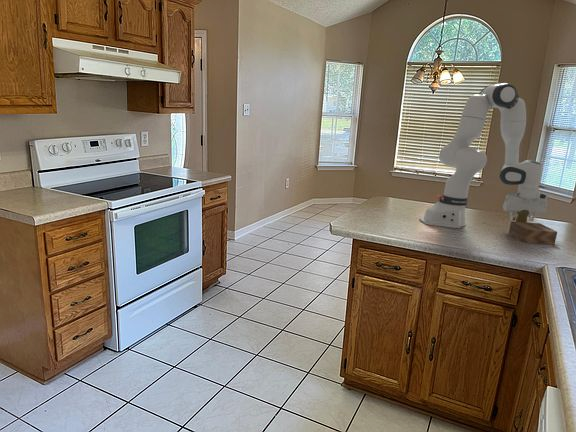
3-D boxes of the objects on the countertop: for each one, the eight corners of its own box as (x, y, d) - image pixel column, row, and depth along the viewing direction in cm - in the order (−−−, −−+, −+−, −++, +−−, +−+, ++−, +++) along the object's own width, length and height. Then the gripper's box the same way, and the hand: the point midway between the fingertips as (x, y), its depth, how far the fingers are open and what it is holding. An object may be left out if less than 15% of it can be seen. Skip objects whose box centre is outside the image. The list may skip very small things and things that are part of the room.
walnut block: (523, 242, 191) (526, 229, 190) (508, 233, 205) (511, 221, 203) (554, 244, 192) (557, 231, 190) (537, 235, 205) (539, 223, 204)
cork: (527, 232, 208) (532, 211, 206) (514, 231, 209) (519, 209, 207) (523, 229, 214) (528, 208, 211) (511, 227, 215) (515, 206, 212)
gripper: (510, 193, 204) (504, 221, 208) (551, 195, 205) (545, 223, 208) (503, 191, 210) (498, 217, 214) (543, 193, 211) (537, 219, 214)
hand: (521, 220), depth 211 cm, fingers open, 8 cm apart
